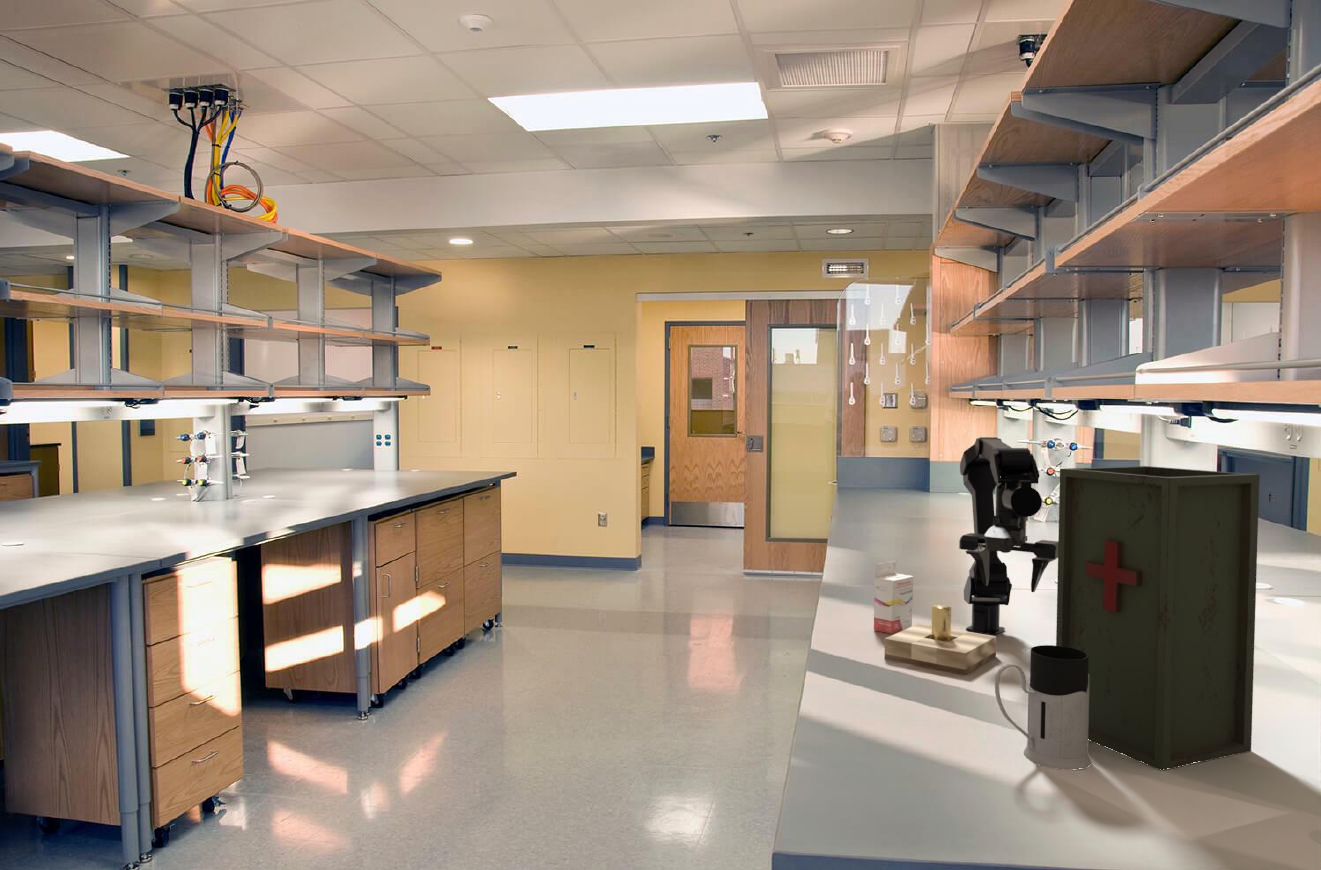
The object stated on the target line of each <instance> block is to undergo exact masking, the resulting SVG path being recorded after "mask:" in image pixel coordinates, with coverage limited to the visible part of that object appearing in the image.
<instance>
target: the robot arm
mask: <svg viewBox="0 0 1321 870" xmlns="http://www.w3.org/2000/svg"><path fill="white" fill-rule="evenodd" d="M959 462H960V463H959V473H960V475H961V476H962V480H963V481H962V482H963V485H964V487H965V488H966V489H967V491H968V492H969V493H970V495H971V501H972V503H971V505H972V516H973V517H972V520H973V532H970V533H966V534H963V535H961V536H960V539H959V541H958V542H959V546H958V547H959V549H960V550H964V551H965V553H966V555H970V556H971V557H972V558H973V560H974V562H973V563H972V565H971V567H970V569H969V570H968V573H969V574H968V576H967V578H966V582H965V585H964V588H963V597H964V598H963V599H964V601H965V602H966V603H967V604H968V605H971V625H969V626H967V627H965V631H967V632H973V633H979V634H985V635H991V636H996V635H998V634H1000V633H1001V632H1003V631H1005V629H1006V627H1004V626H1000V613H1001V611H1000V610H1001V609H1000V606H1003V605H1004V606H1009V604H1010V597H1011V593H1012V591H1011V590H1012V587H1013V584H1012V583H1011V580H1010V577H1008V571H1007V569H1008V568H1007V565H1006V563H1005V562H1003V561H1001V559H1000V558H999V556H998V552H1001V553H1003V554H1005V553H1006V554H1008V553H1010V552H1012V551H1015V552H1024V553H1033V554H1034V556H1035V557H1033V558H1031V563H1032V571H1031V574H1032V575H1031V581H1030V591H1031V593H1035V592H1036V589H1037V587H1038V585H1039V583H1040V581H1041V578H1042V576H1043V574H1044V572H1045V570H1046V568H1047V567H1048V565H1049V564H1050V563H1051V562H1053V561H1055V560H1058V541H1056V540H1047V539H1041V540H1038V541H1035V542H1034V543H1033V542H1028V535H1027V522H1028V520H1029V519H1028V518H1029V517H1032V516H1035V515H1036V514H1037V513H1038V512H1039V511H1040V510H1041V508H1042V504H1043V499H1042V496H1041V494H1040V492H1039V491H1038V490H1036V489H1035V488H1033V487H1032V485H1033V484H1034V485H1035V484H1036V485H1037V484H1039V478H1040V476H1041V475H1040V470H1039V469H1038V468H1039V467H1038V464H1037V461H1036V459H1035V457H1034V455H1033V453H1032V452H1031V450H1030V448H1028V447H1012V446H1010V445H1008V444H1007V443H1005V442H1003V441H1002V439H1001V438H998V437H996V436H995V437H994V436H993V437H992V436H991V437H989V436H988V437H987V436H986V437H985V436H982V437H981V436H979V438H975V442H974V444H973V445H971V446H970V447H969V448H967V449H966V450H964V452H963V453H962V456H961V460H960V461H959ZM994 491H995V503H994Z"/></svg>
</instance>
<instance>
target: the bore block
mask: <svg viewBox="0 0 1321 870" xmlns="http://www.w3.org/2000/svg"><path fill="white" fill-rule="evenodd" d="M931 632H932V624H931V625H930V624H924V623H917V624H914V625H912V627H910V628H908V629H905V630H903V631H900V632H896V633H893V634H891V635H890V636H887V637H885V638H884V659H885V660H889V661H894V662H899V663H904V664H909V665H913V666H917V667H918V666H919V667H924V668H929V669H935V670H939V671H944V672H948V673H949V672H950V673H953V674H959V675H965V676H966V675H968V674H969V673H971V672H972V671H975V670H976V669H977V668H980V667H981V666H982V665H984V664H986V663H988V662H989V661H991V660H992V659H994V658H996V657H997V636H996V635H991V634H985V633H979V632H973V631H967V630H962V629H955V628H954V629H953V628H951V641H950V642H944V641H939V640H933V639H931Z"/></svg>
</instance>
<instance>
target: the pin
mask: <svg viewBox="0 0 1321 870" xmlns="http://www.w3.org/2000/svg"><path fill="white" fill-rule="evenodd" d="M931 625H932V632H931V639H933V640H939V641H944V642H950V641H951V629H952V607H951V606H949V605H943V604H934V605H932V606H931Z"/></svg>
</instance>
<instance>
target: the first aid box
mask: <svg viewBox="0 0 1321 870" xmlns="http://www.w3.org/2000/svg"><path fill="white" fill-rule="evenodd" d="M1259 496H1260V474H1255V473H1241V472H1231V471H1230V472H1229V471H1228V472H1227V471H1217V470H1203V469H1190V468H1189V469H1188V468H1176V467H1175V468H1174V467H1163V466H1148V465H1142V466H1141V465H1140V466H1139V465H1137V466H1136V465H1135V466H1134V465H1133V466H1105V467H1104V466H1103V467H1102V466H1101V467H1099V466H1098V467H1077V468H1075V467H1073V468H1071V467H1070V468H1059V497H1058V498H1059V499H1058V503H1059V504H1058V558H1057V587H1056V588H1057V593H1056V598H1057V599H1056V629H1055V630H1056V633H1055V634H1056V637H1055V641H1056V642H1055V646H1064V647H1070V648H1074V649H1078V650H1081V651H1084V652H1086V653H1087V654H1088V655H1089V664H1088V674H1089V680H1090V681H1089V724H1088V739H1089V740H1091V741H1093V742H1092V743H1094V742H1095V743H1094V744H1096V743H1098V744H1100V745H1099V746H1101V745H1102V746H1101V747H1103V746H1106V747H1108V748H1111V749H1113V750H1115V751H1117V752H1116V753H1118V752H1119V753H1118V754H1120V753H1123V754H1125V755H1127V756H1129V757H1131V758H1130V759H1132V758H1133V759H1132V760H1134V759H1135V761H1137V762H1139V761H1142V762H1144V763H1145V765H1146V764H1148V765H1147V766H1149V765H1150V766H1149V767H1151V766H1152V768H1154V769H1156V768H1158V769H1157V770H1159V769H1161V770H1163V769H1167V768H1172V769H1175V768H1174V767H1176V768H1179V767H1178V766H1181V767H1183V766H1182V765H1185V766H1187V765H1186V764H1190V765H1192V764H1191V763H1193V762H1198V761H1203V762H1206V760H1208V761H1211V760H1210V759H1212V760H1216V759H1215V758H1217V759H1221V758H1220V757H1222V758H1225V757H1224V756H1226V757H1230V755H1231V756H1234V755H1233V754H1235V755H1238V753H1240V754H1243V753H1247V751H1249V752H1252V737H1253V736H1252V733H1253V732H1252V731H1253V701H1254V671H1255V670H1254V665H1255V633H1256V632H1255V631H1256V601H1257V599H1256V598H1257V569H1258V567H1257V566H1258V565H1257V564H1258V561H1257V560H1258V534H1259V533H1258V532H1259V531H1258V530H1259V529H1258V528H1259V504H1260V503H1259V502H1260V501H1259V498H1260V497H1259ZM1089 740H1088V741H1089ZM1091 741H1090V742H1091ZM1098 744H1097V745H1098ZM1106 747H1105V748H1106ZM1108 748H1107V749H1108ZM1113 750H1112V751H1113ZM1115 751H1114V752H1115ZM1125 755H1124V756H1125ZM1127 756H1126V757H1127ZM1129 757H1128V758H1129ZM1142 762H1141V763H1142ZM1144 763H1143V764H1144ZM1161 770H1160V771H1161ZM1163 771H1164V770H1163Z"/></svg>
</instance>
